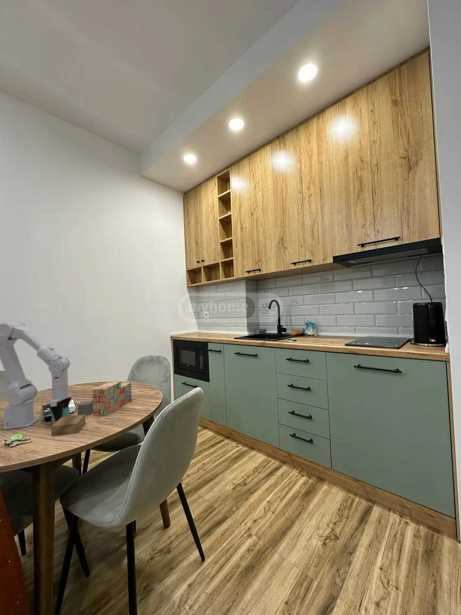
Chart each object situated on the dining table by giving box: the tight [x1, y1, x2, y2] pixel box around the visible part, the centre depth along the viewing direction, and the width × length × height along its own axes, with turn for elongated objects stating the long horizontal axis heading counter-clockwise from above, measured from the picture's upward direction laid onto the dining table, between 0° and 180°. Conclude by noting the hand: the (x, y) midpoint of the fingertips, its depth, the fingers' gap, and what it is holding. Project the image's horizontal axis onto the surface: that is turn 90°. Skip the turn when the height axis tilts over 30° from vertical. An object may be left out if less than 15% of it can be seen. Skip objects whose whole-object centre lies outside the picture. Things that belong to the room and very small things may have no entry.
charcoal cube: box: [77, 400, 94, 417], centre depth 118 cm, size 5×5×5 cm
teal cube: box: [51, 406, 71, 425], centre depth 110 cm, size 5×5×5 cm
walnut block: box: [50, 414, 86, 437], centre depth 101 cm, size 9×9×4 cm
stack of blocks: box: [92, 381, 132, 417], centre depth 125 cm, size 21×6×12 cm, turn 171°
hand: (60, 417), depth 110 cm, fingers closed on teal cube, 5 cm apart
